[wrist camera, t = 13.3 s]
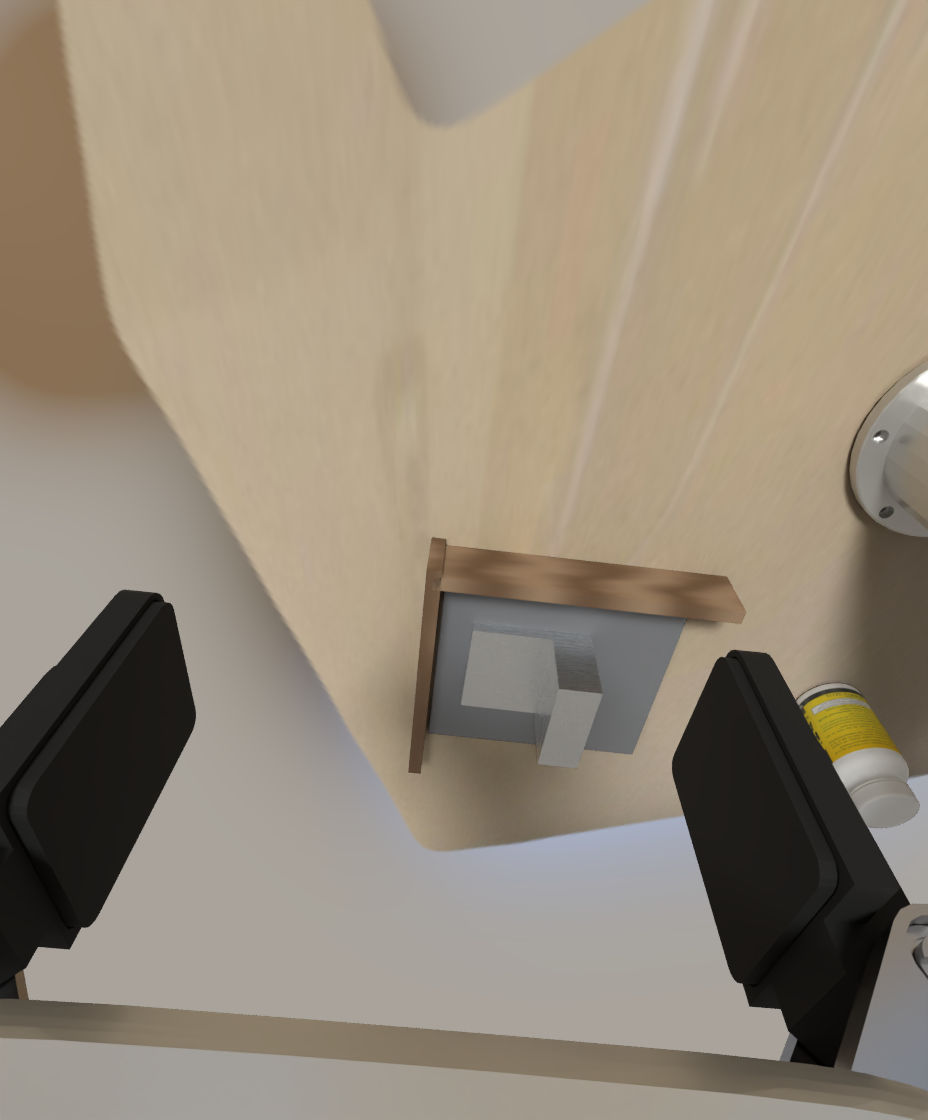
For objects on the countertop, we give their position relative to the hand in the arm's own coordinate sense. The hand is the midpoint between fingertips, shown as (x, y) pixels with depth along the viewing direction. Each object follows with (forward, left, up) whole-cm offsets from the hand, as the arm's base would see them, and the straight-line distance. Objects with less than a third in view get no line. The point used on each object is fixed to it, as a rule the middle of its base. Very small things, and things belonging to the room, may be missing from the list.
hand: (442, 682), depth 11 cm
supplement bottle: (-32, +27, -29) cm, 51 cm away
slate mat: (-9, +26, -28) cm, 39 cm away
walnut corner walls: (-9, +26, -28) cm, 39 cm away
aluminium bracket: (-7, +26, -28) cm, 39 cm away
